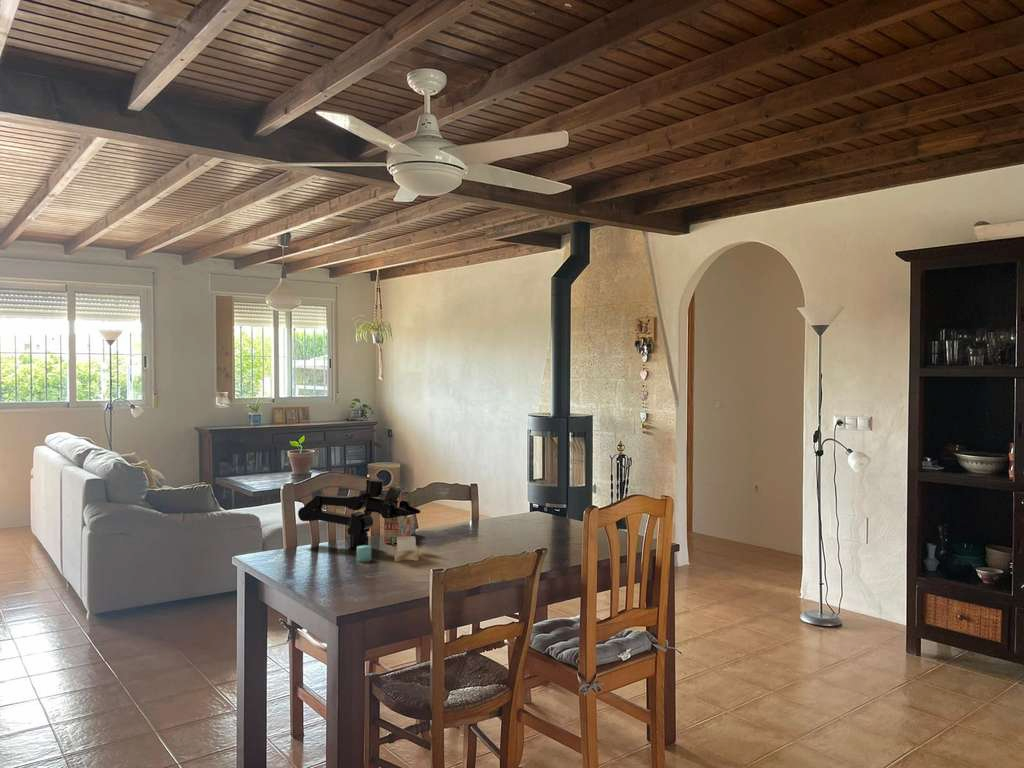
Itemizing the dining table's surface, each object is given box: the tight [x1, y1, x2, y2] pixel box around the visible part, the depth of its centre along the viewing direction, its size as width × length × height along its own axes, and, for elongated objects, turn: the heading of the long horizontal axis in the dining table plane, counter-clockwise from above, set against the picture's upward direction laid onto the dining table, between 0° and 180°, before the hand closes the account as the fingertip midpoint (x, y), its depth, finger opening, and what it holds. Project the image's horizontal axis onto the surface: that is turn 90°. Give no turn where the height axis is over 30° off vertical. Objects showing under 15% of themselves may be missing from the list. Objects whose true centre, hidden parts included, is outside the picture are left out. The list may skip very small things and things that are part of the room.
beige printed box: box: [383, 514, 415, 543], centre depth 337 cm, size 21×6×12 cm, turn 169°
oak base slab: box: [393, 545, 420, 562], centre depth 302 cm, size 9×9×4 cm
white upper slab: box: [396, 535, 417, 551], centre depth 302 cm, size 7×7×4 cm
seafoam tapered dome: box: [356, 544, 372, 563], centre depth 299 cm, size 6×6×5 cm
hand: (415, 512), depth 309 cm, fingers open, 9 cm apart
